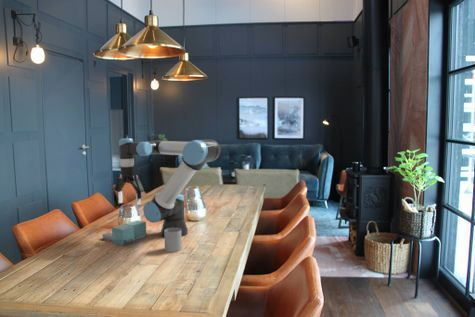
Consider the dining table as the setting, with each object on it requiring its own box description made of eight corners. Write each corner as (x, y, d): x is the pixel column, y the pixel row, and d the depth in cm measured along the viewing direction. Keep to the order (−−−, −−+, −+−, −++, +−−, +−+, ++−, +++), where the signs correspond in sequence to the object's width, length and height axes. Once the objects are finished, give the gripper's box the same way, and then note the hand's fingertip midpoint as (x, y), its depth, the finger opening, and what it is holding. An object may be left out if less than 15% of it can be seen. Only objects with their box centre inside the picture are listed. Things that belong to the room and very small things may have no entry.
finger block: (138, 234, 228) (137, 220, 227) (146, 236, 224) (145, 222, 223) (124, 238, 221) (123, 223, 220) (132, 240, 216) (131, 225, 216)
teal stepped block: (134, 242, 212) (133, 227, 211) (123, 246, 206) (122, 230, 205) (111, 236, 224) (110, 221, 223) (100, 239, 218) (99, 224, 217)
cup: (167, 253, 195) (167, 233, 194) (162, 248, 202) (162, 229, 201) (184, 250, 199) (183, 230, 198) (178, 246, 206) (178, 227, 205)
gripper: (149, 165, 220) (151, 203, 222) (116, 165, 232) (118, 201, 234) (139, 167, 214) (141, 206, 215) (106, 166, 226) (108, 203, 228)
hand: (129, 203), depth 225 cm, fingers open, 13 cm apart
